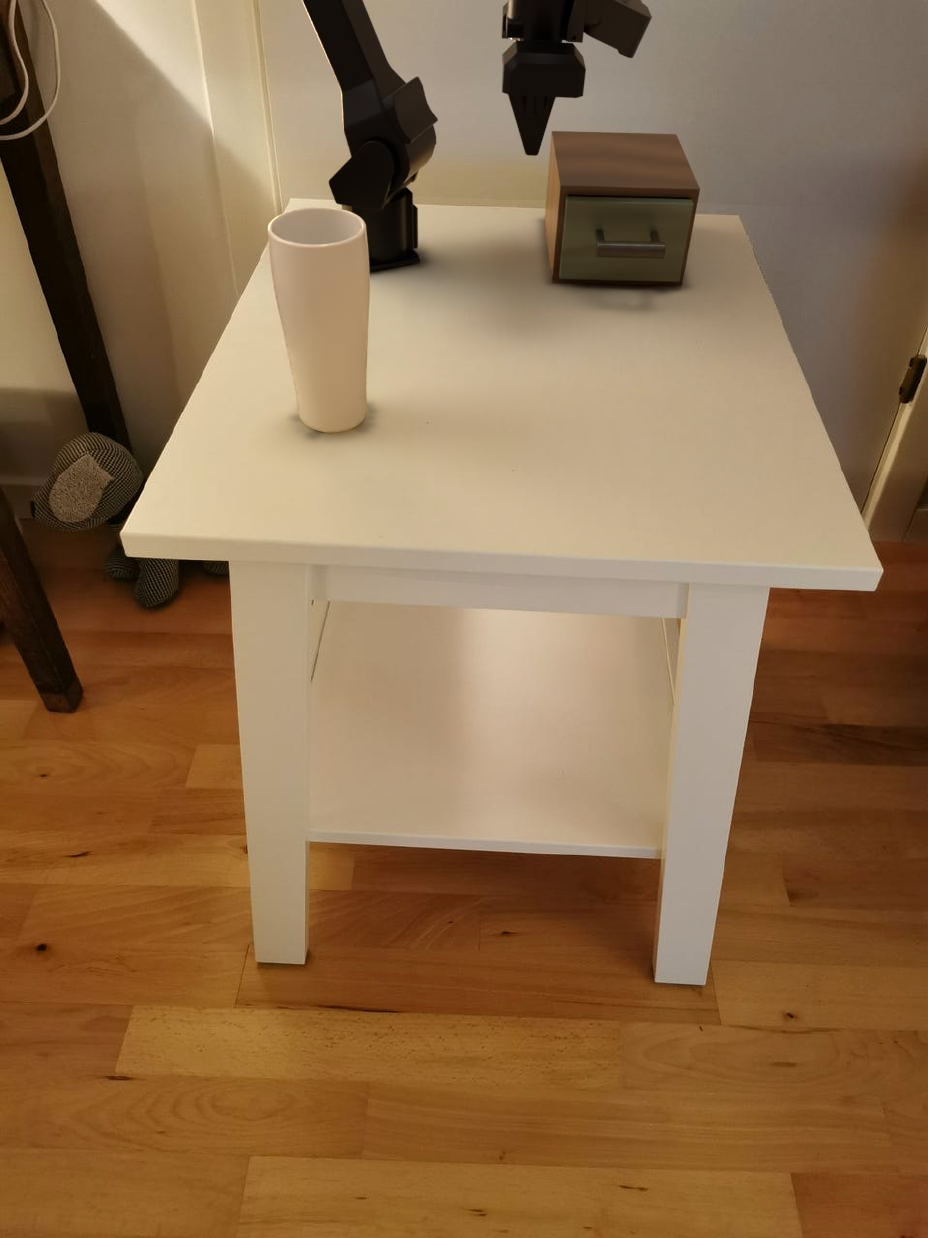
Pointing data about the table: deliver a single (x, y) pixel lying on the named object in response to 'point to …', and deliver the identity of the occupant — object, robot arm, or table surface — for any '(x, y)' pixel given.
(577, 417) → the table surface
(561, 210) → the cabinet
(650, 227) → the drawer
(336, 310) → the drinking glass
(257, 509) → the table surface
